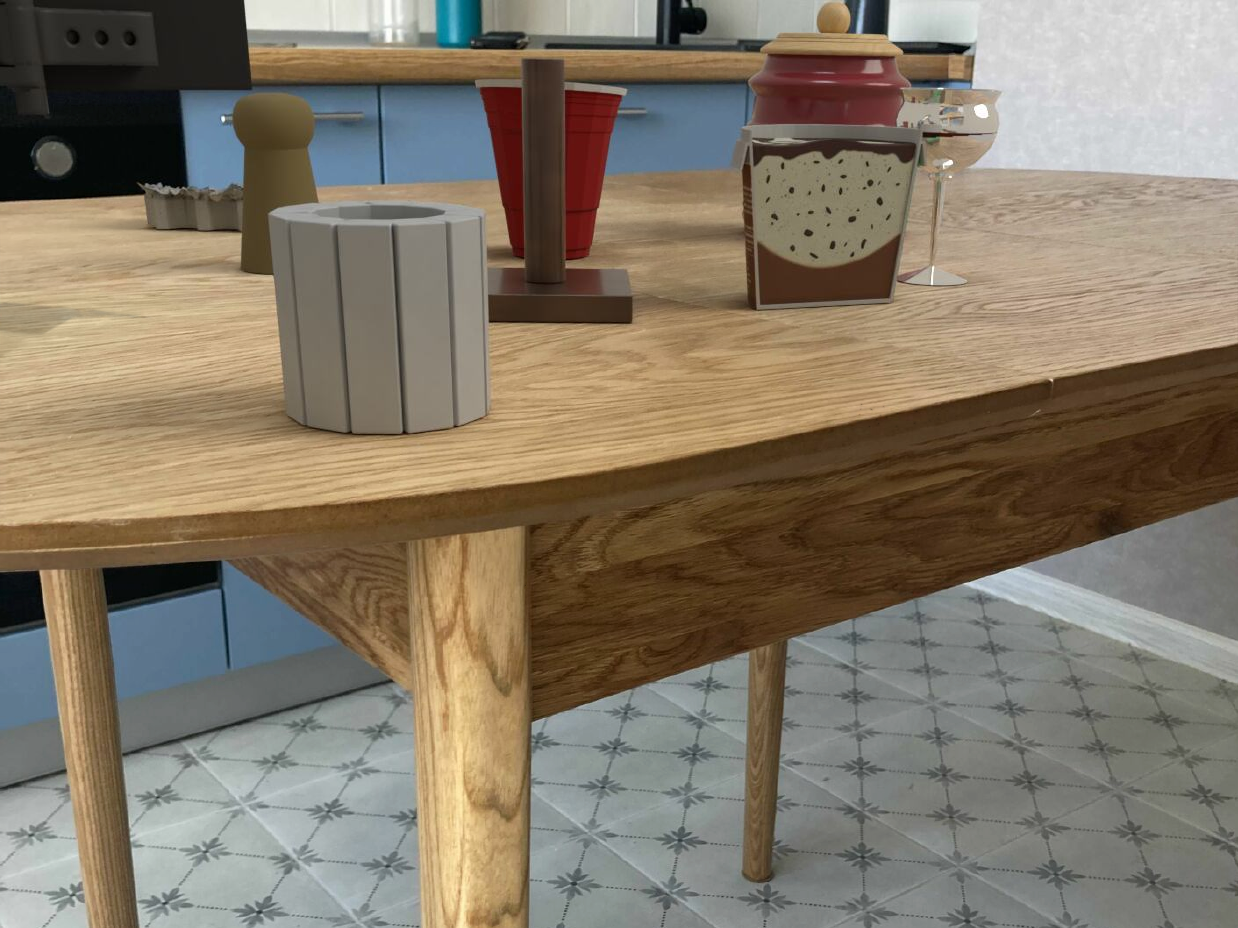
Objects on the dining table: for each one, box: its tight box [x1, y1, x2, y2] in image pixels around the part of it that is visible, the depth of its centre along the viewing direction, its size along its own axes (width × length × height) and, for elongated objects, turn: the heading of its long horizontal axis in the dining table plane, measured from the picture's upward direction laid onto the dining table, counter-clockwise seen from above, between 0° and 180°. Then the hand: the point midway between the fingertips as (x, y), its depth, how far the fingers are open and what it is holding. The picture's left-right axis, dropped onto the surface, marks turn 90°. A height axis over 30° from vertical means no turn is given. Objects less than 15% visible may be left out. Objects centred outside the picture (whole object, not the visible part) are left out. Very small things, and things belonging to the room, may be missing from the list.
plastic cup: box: [474, 78, 628, 260], centre depth 98 cm, size 11×11×12 cm
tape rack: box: [487, 57, 634, 324], centre depth 78 cm, size 10×10×14 cm
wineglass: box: [894, 87, 1003, 286], centre depth 90 cm, size 7×7×12 cm
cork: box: [231, 92, 320, 275], centre depth 90 cm, size 6×6×11 cm
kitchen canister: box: [741, 1, 912, 232], centre depth 110 cm, size 13×13×18 cm
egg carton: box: [137, 182, 243, 233], centre depth 111 cm, size 11×8×4 cm
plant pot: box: [268, 199, 492, 435], centre depth 56 cm, size 8×8×8 cm
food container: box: [730, 124, 927, 311], centre depth 83 cm, size 12×6×10 cm, turn 111°
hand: (149, 41), depth 46 cm, fingers open, 13 cm apart
